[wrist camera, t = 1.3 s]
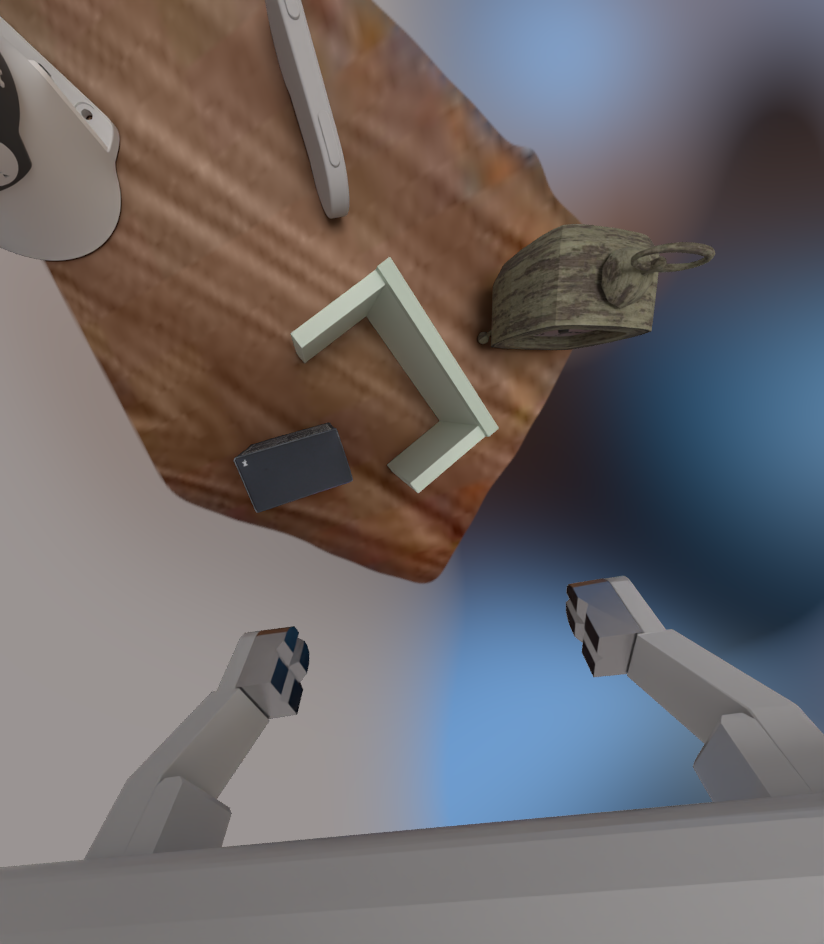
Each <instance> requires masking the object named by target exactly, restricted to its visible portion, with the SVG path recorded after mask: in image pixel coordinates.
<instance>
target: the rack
mask: <svg viewBox="0 0 824 944" xmlns="http://www.w3.org/2000/svg"><path fill="white" fill-rule="evenodd" d="M364 317H367V318H368V320H369V321H370V322H371V324H372V325H373V327H374V328H375V330H376V331H377V332H378V334H379V335H380V337H381V338H382V339H383V341H384V342H385V344H386V345H387V347H388V348H389V349H390V351H391V352H392V354H393V355H394V357H395V358H396V359H397V361H398V362H399V364H400V365H401V367H402V368H403V369H404V371H405V372H406V374H407V375H408V377H409V378H410V379H411V381H412V382H413V384H414V385H415V386H416V388H417V389H418V391H419V392H420V394H421V395H422V396H423V398H424V399H425V401H426V402H427V404H428V405H429V406H430V408H431V409H432V411H433V412H434V414H435V415H436V416H437V418H438V419H439V422H438V423H437V424H435V425H434V426H433V427H432V428H431V429H429V430H428V431H427V432H426V433H425V434H423V435H422V436H421V437H420V438H419V439H417V440H416V441H415V442H414V443H413V444H411V445H410V446H409V447H408V448H407V449H405V450H404V451H403V452H402V453H400V454H399V455H398V456H397V457H396V458H394V459H393V460H392V461H391V462H390V463H388V464H387V466H388V467H389V468H390V469H391V471H392V472H393V473H394V474H395V475H397V476H398V477H399V478H400V479H401V480H403V481H404V482H405V483H406V484H407V485H409V486H410V487H411V488H412V489H413V490H415V491H416V492H417V493H419V492H420V491H422V490H423V489H424V488H425V487H426V486H427V485H429V484H430V483H431V482H432V481H433V480H434V479H436V478H437V477H438V476H439V475H440V474H441V473H443V472H444V471H445V470H446V469H447V468H449V467H450V466H451V465H452V464H453V463H454V462H456V461H457V460H458V459H459V458H460V457H461V456H463V455H464V454H465V453H466V452H467V451H468V450H470V449H471V448H472V447H473V446H474V445H475V444H477V443H478V442H479V441H480V440H481V439H483V438H484V437H485V436H488V437H489V436H490V435H491V434H493V433H494V432H495V431H496V430H497V429H498V426H497V425H496V423H495V421H494V420H493V418H492V417H491V415H490V414H489V412H488V410H487V409H486V407H485V406H484V404H483V403H482V401H481V399H480V398H479V396H478V395H477V393H476V391H475V390H474V388H473V387H472V385H471V384H470V382H469V380H468V379H467V377H466V376H465V374H464V373H463V371H462V369H461V368H460V366H459V365H458V363H457V362H456V360H455V358H454V357H453V355H452V354H451V352H450V351H449V349H448V347H447V346H446V344H445V343H444V341H443V340H442V338H441V336H440V335H439V333H438V332H437V330H436V329H435V327H434V325H433V324H432V322H431V321H430V319H429V317H428V316H427V314H426V313H425V311H424V310H423V308H422V306H421V305H420V303H419V302H418V300H417V299H416V297H415V295H414V294H413V292H412V291H411V289H410V288H409V286H408V284H407V283H406V281H405V280H404V278H403V277H402V275H401V273H400V272H399V270H398V269H397V267H396V266H395V264H394V262H393V261H392V259H391V258H390V257H389V258H388V259H386V260H385V261H384V262H382V263H381V264H380V265H378V266H377V268H376V270H374V271H373V272H372V273H371V274H369V275H368V276H367V277H365V278H364V279H363V280H361V281H360V282H359V283H357V284H356V285H355V286H353V287H352V288H351V289H349V290H348V291H347V292H345V293H344V294H343V295H341V296H340V297H339V298H337V299H336V300H335V301H333V302H332V303H331V304H329V305H328V306H327V307H325V308H324V309H323V310H321V311H320V312H319V313H317V314H316V315H315V316H313V317H312V318H311V319H309V320H308V321H307V322H305V323H304V324H303V325H301V326H300V327H299V328H297V329H296V330H295V331H293V332H292V333H291V337H292V340H293V344H294V347H295V350H296V353H297V355H298V356H299V357H300V358H301V360H302V361H303V362H304V363H306V362H307V361H308V360H310V359H311V358H312V357H314V356H315V355H316V354H318V353H319V352H320V351H321V350H323V349H324V348H325V347H327V346H328V345H329V344H331V343H332V342H333V341H334V340H336V339H337V338H338V337H340V336H341V335H342V334H344V333H345V332H346V331H348V330H349V329H350V328H351V327H353V326H354V325H355V324H357V323H358V322H359V321H361V320H362V319H363V318H364Z"/></svg>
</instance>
